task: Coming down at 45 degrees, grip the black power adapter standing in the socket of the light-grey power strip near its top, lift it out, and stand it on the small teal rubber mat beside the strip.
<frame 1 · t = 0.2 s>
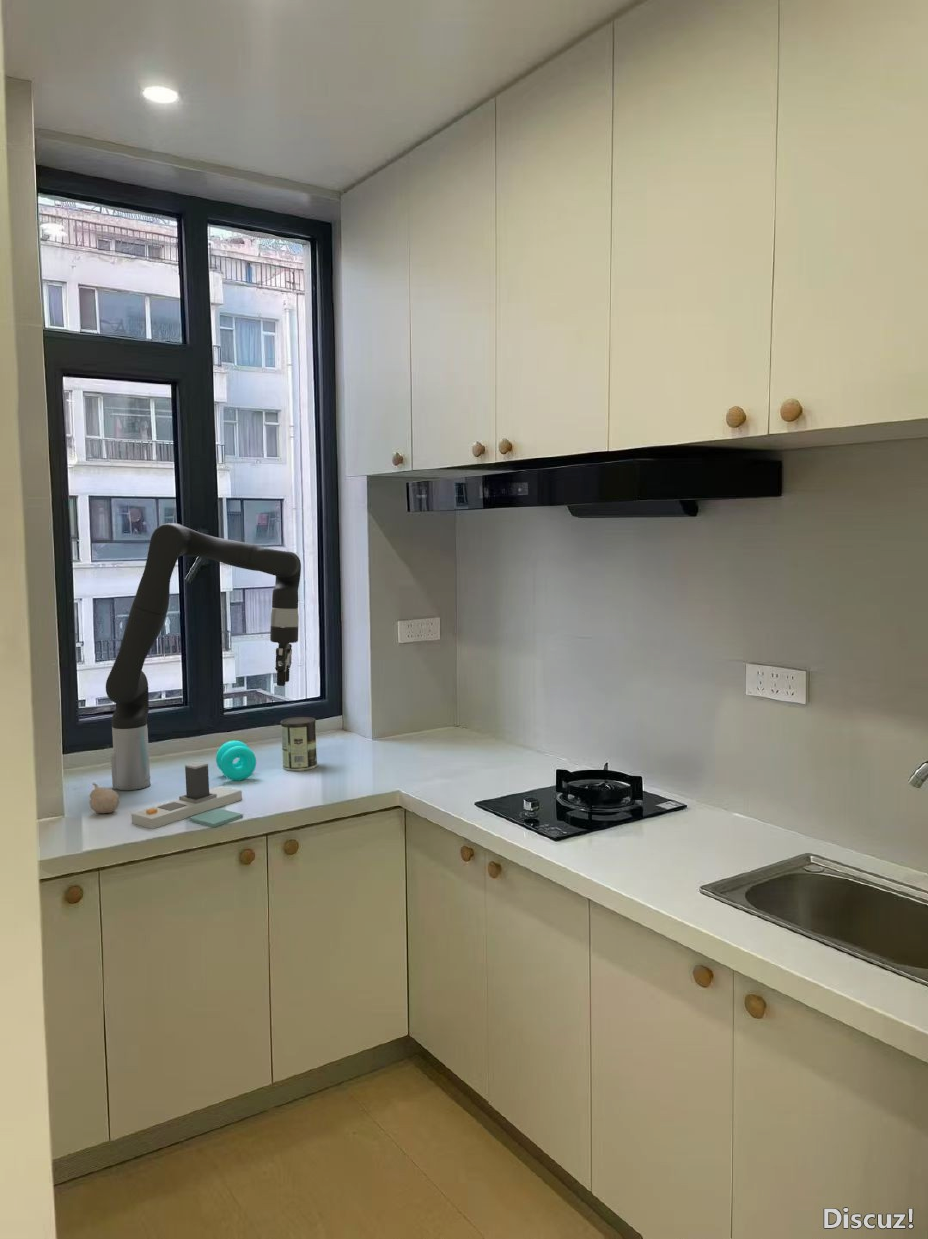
hand: (283, 683, 258), 28 cm above the countertop, tool pointing down, fingers open, 8 cm apart
donuts: (236, 778, 270), on the countertop
strip: (188, 810, 239), on the countertop
garlic bulb: (105, 813, 239), on the countertop
pad: (216, 819, 232), on the countertop
coffee can: (299, 767, 280), on the countertop
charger: (198, 798, 241), point 2 cm above the countertop, touching strip
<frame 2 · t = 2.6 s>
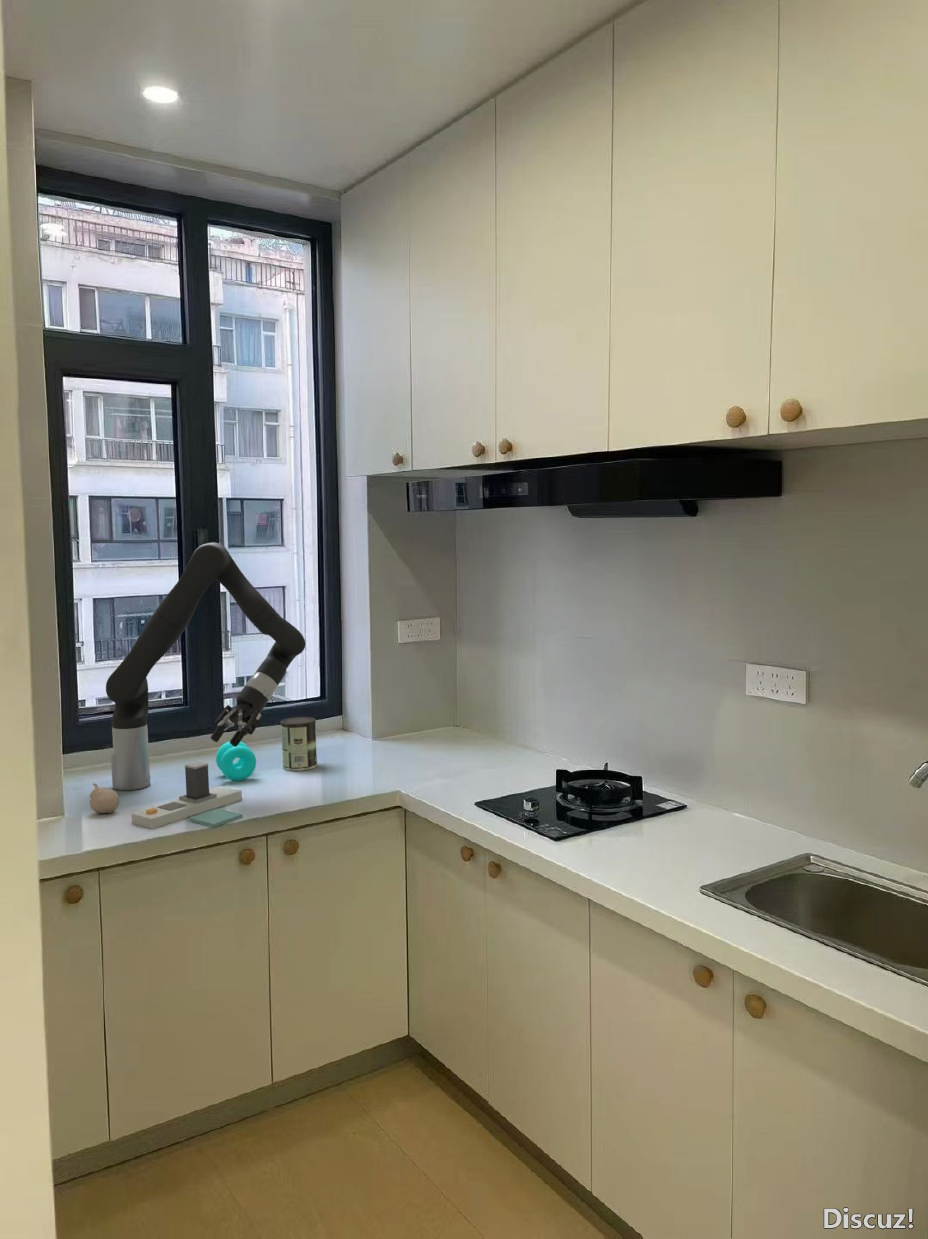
hand: (222, 742, 246), 15 cm above the countertop, tool tilted 45°, fingers open, 8 cm apart
nothing on the countertop moved.
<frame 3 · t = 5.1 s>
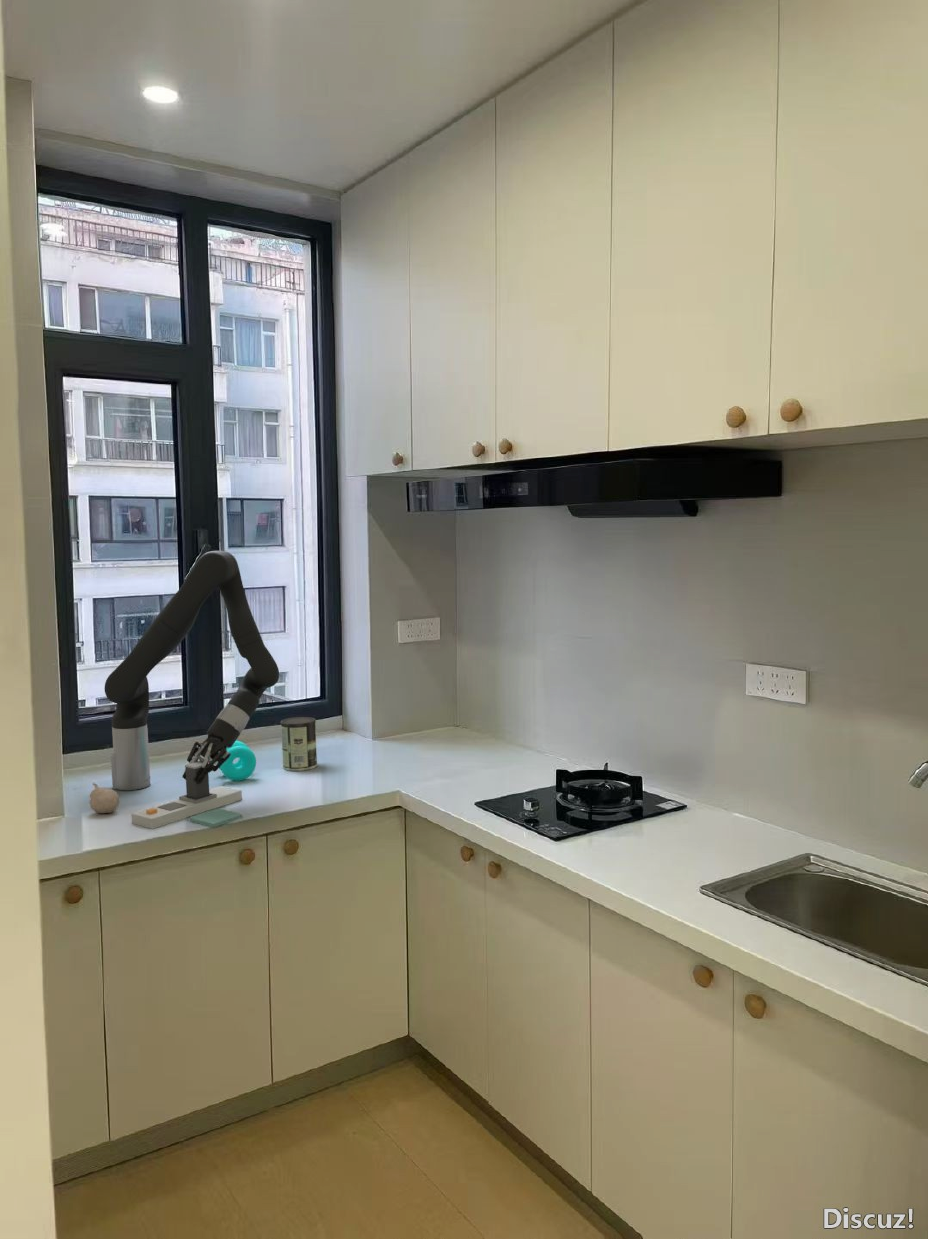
hand: (190, 780, 239), 8 cm above the countertop, tool tilted 45°, fingers closed on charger, 4 cm apart
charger: (198, 798, 241), point 2 cm above the countertop, touching gripper
everything else where it was.
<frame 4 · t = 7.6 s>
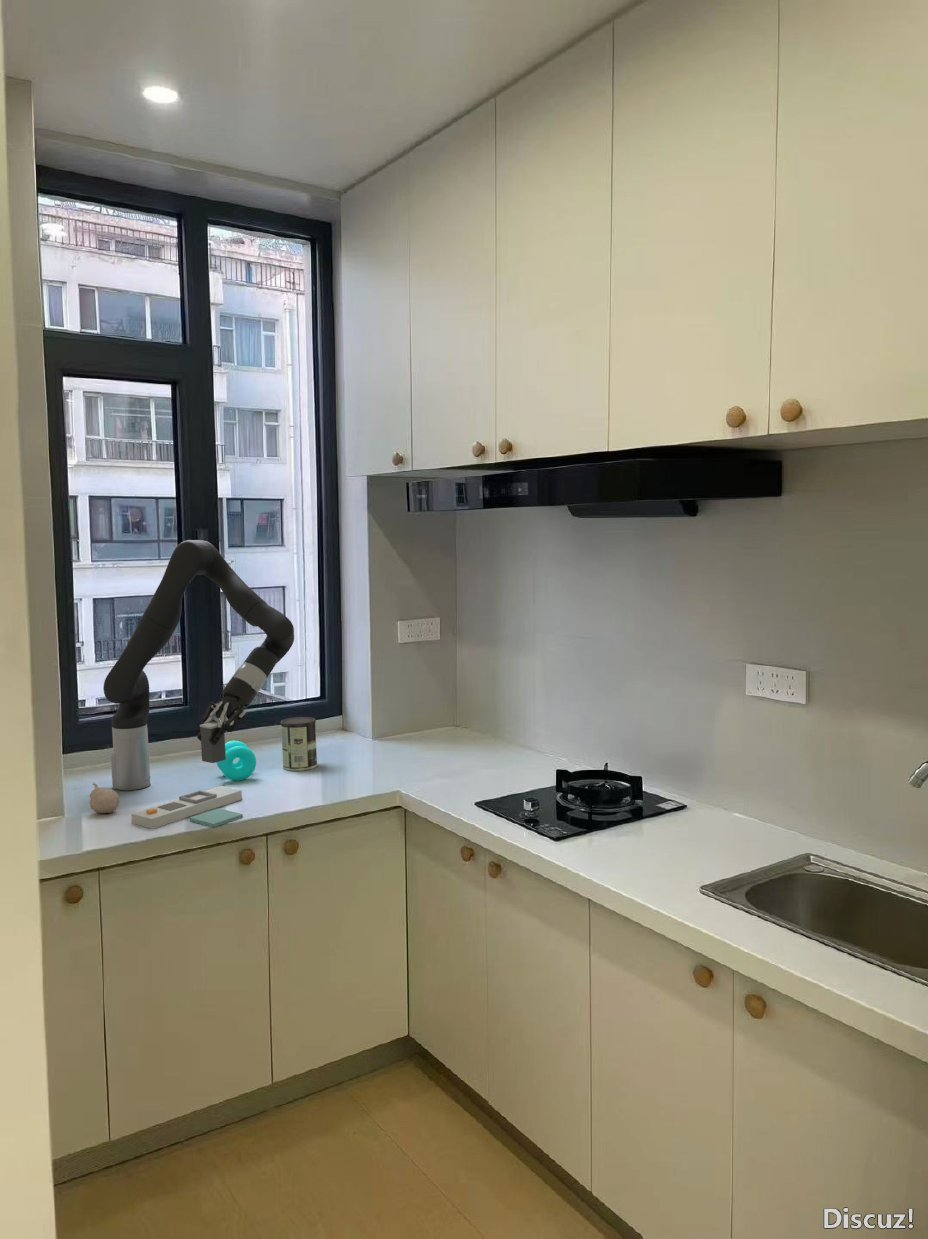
hand: (206, 741, 229), 20 cm above the countertop, tool tilted 45°, fingers closed on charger, 4 cm apart
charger: (213, 760, 231), point 15 cm above the countertop, touching gripper
everything else where it was.
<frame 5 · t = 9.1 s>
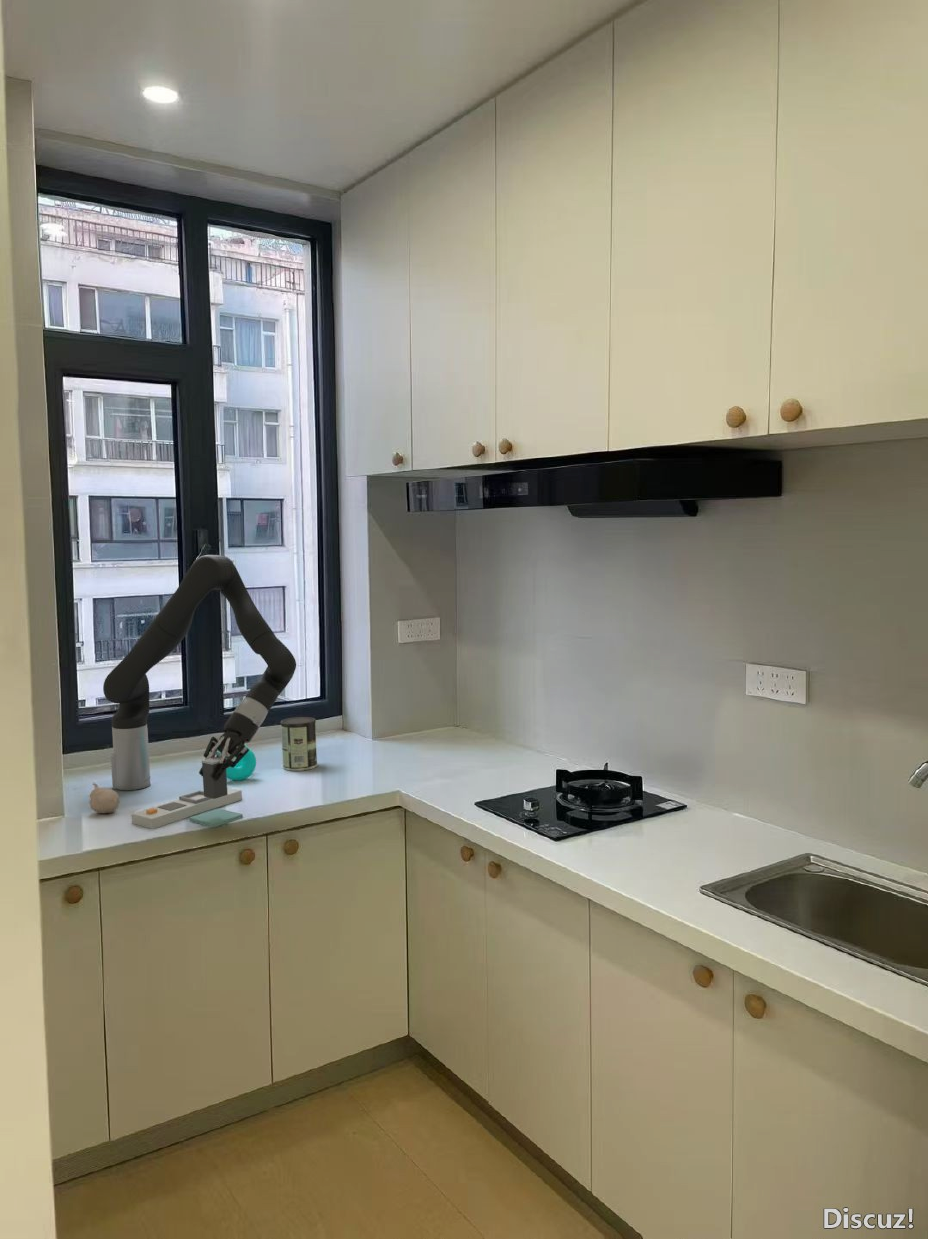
hand: (207, 776, 229), 11 cm above the countertop, tool tilted 45°, fingers closed on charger, 4 cm apart
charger: (215, 795, 231), point 6 cm above the countertop, touching gripper
everything else where it was.
when the fingers open (7 cm above the countertop, at t = 10.3 s): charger drops 1 cm, resting on pad.
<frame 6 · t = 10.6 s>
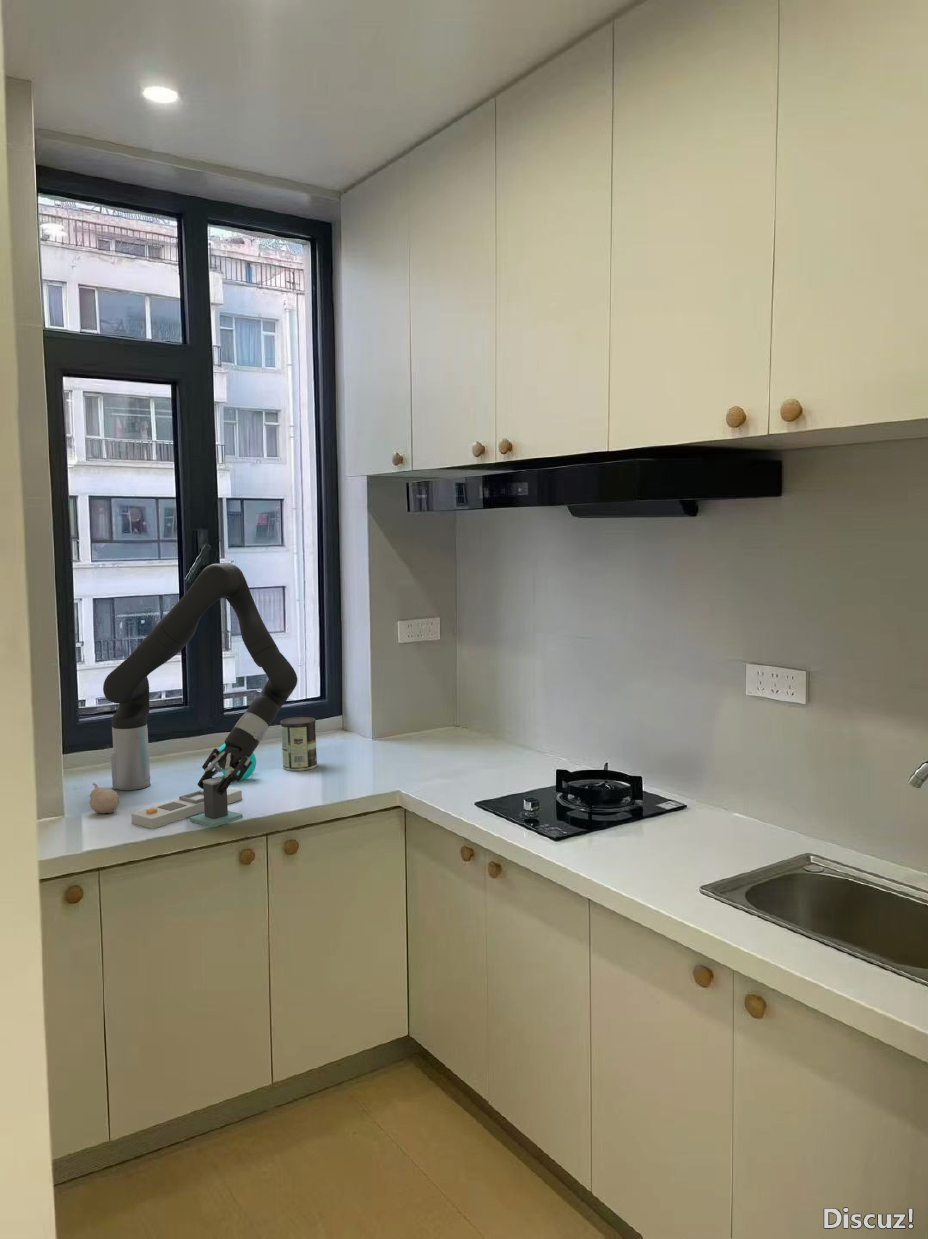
hand: (209, 790, 230), 8 cm above the countertop, tool tilted 45°, fingers open, 7 cm apart
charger: (216, 815, 232), point 1 cm above the countertop, touching pad
everything else where it was.
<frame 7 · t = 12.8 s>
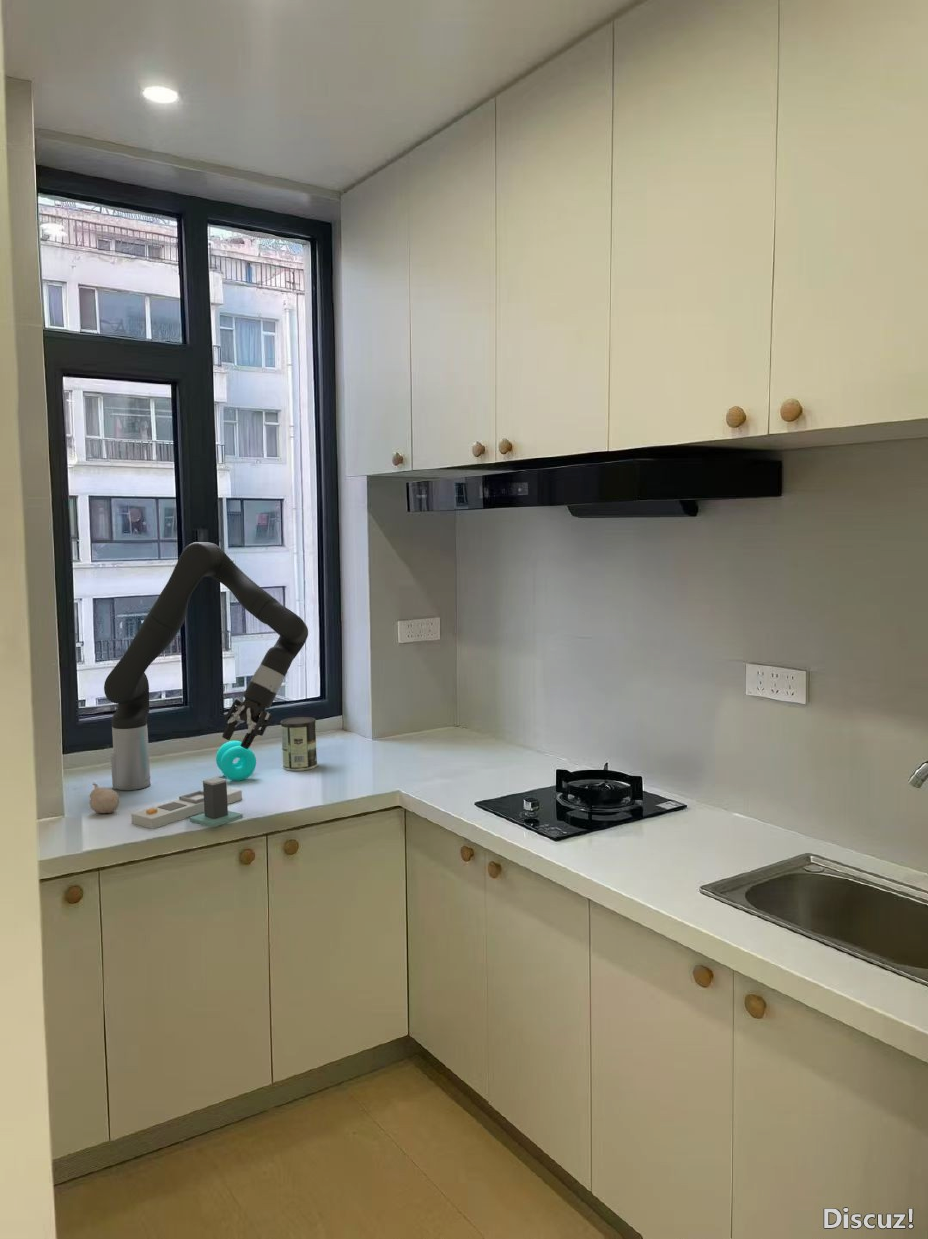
hand: (234, 743, 240), 17 cm above the countertop, tool tilted 30°, fingers open, 8 cm apart
nothing on the countertop moved.
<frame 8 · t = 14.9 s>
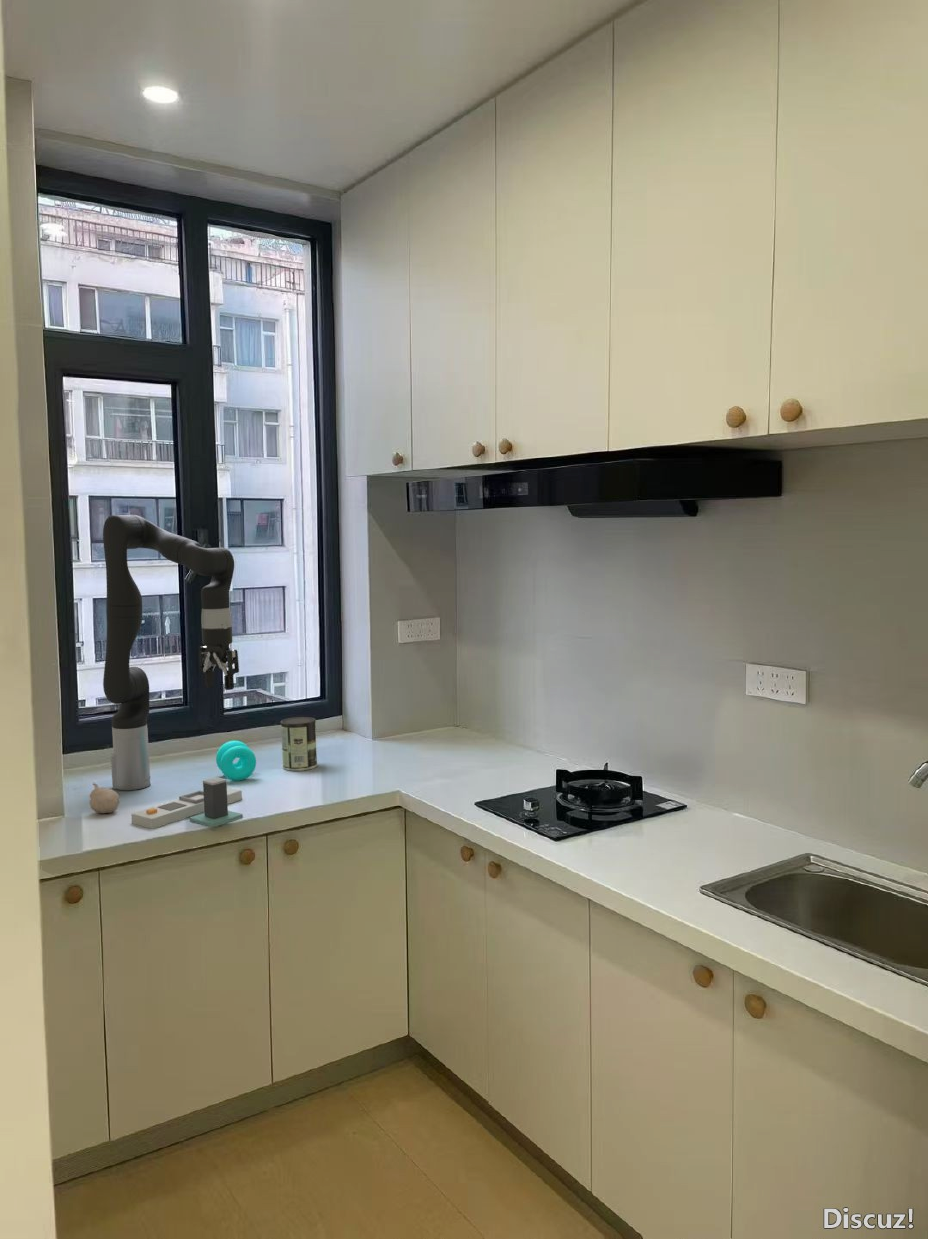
hand: (219, 687, 244), 30 cm above the countertop, tool pointing down, fingers open, 8 cm apart
nothing on the countertop moved.
at the end: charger inside the target area on the pad (0.1 cm from its centre), point 0.8 cm above the pad's base; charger tilted 0°; the gripper is holding nothing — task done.
